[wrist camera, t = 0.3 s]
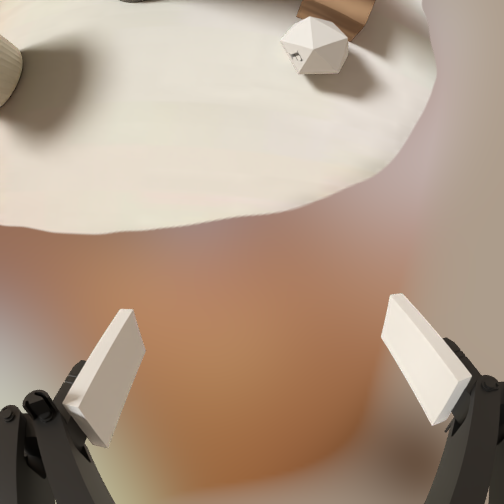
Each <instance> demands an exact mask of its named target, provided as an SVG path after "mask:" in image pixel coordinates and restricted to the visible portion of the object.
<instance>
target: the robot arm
mask: <svg viewBox="0 0 504 504" xmlns="http://www.w3.org/2000/svg"><path fill="white" fill-rule="evenodd" d="M120 1H124V2H139V1H145V0H120ZM381 338H382V340H383V341H384V343H385V344H386V346H387V347H388V349H389V351H390V352H391V354H392V356H393V357H394V359H395V361H396V362H397V364H398V366H399V368H400V369H401V371H402V372H403V374H404V376H405V378H406V379H407V381H408V383H409V385H410V386H411V388H412V390H413V392H414V393H415V395H416V397H417V399H418V401H419V403H420V404H421V406H422V408H423V410H424V412H425V413H426V415H427V417H428V419H429V421H430V423H431V425H432V426H433V425H436V424H438V423H441V422H443V421H445V420H446V419H447V418H448V416H449V414H450V413H451V412H452V413H453V415H454V418H453V420H452V421H451V423H450V424H449V425H448V427H447V428H446V430H445V432H447V431H448V430H449V428H450V430H449V434H448V438H447V442H446V445H445V449H444V452H443V455H442V458H441V462H440V464H439V467H438V471H437V473H436V476H435V479H434V481H433V484H432V487H431V489H430V492H429V494H428V496H427V499H426V501H425V503H424V504H484V503H485V500H486V496H487V492H488V488H489V504H504V382H498V381H497V380H496V379H495V378H494V377H492V376H489V375H483V376H482V375H480V373H479V372H478V370H477V369H476V368H475V367H474V365H473V364H472V363H471V362H470V360H469V359H468V358H467V357H465V354H464V353H463V352H462V351H460V348H459V347H458V346H457V345H456V344H455V343H454V342H453V341H451V340H449V339H448V338H441V336H440V335H439V334H438V333H437V332H436V331H435V329H434V328H433V327H432V326H431V325H430V324H429V322H428V321H427V320H426V319H425V318H424V317H423V316H422V315H421V313H420V312H419V311H418V310H417V309H416V308H415V307H414V306H413V304H412V303H411V302H410V301H409V300H408V299H407V298H406V297H405V296H404V295H403V294H402V293H401V294H393V295H390V298H389V303H388V309H387V313H386V318H385V322H384V327H383V331H382V335H381ZM145 351H146V350H145V347H144V344H143V341H142V338H141V335H140V331H139V328H138V324H137V321H136V318H135V314H134V311H133V309H120V310H119V312H118V313H117V315H116V316H115V318H114V319H113V321H112V322H111V324H110V325H109V327H108V328H107V330H106V331H105V333H104V334H103V336H102V337H101V339H100V341H99V342H98V344H97V345H96V347H95V349H94V350H93V352H92V353H91V355H90V357H89V358H88V360H87V361H84V360H81V361H80V362H79V363H77V364H76V365H75V366H74V367H73V368H72V370H71V371H70V373H69V376H67V378H66V380H65V383H63V385H62V386H61V388H60V390H59V391H58V393H57V395H56V396H55V398H54V400H53V401H52V399H51V398H50V396H49V395H48V393H47V392H45V391H43V390H35V391H32V392H31V393H29V394H28V395H27V396H26V397H25V399H24V401H23V408H24V409H25V410H26V412H27V413H25V414H23V413H21V411H20V410H19V409H18V407H16V406H15V405H8V406H6V407H4V408H3V409H2V410H1V411H0V504H55V500H56V503H57V504H115V502H114V501H113V499H112V497H111V495H110V493H109V492H108V490H107V488H106V486H105V484H104V482H103V481H102V478H101V477H100V474H99V472H98V470H97V468H96V466H95V464H94V461H93V459H92V457H91V455H90V452H89V450H88V448H87V446H86V445H85V440H86V438H88V439H89V441H90V442H91V443H92V444H93V445H96V446H100V447H104V448H108V447H109V444H110V442H111V439H112V436H113V433H114V430H115V428H116V425H117V422H118V419H119V417H120V414H121V411H122V409H123V406H124V403H125V401H126V398H127V396H128V393H129V391H130V388H131V386H132V383H133V381H134V378H135V375H136V373H137V371H138V368H139V366H140V364H141V361H142V359H143V356H144V354H145Z"/></svg>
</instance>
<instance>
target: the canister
mask: <svg viewBox="0 0 504 504" xmlns="http://www.w3.org/2000/svg"><path fill="white" fill-rule="evenodd" d="M22 64H23V61H22V55H21V53H20V51H19V50H18V48H17V47H15V46H14V45H13V44H12V43H10V42H9V41H8V40H7V39H5V38H4V37H3V36H1V35H0V107H1V106H2V105H3V104H4V103H5V102H6V101H7V100H8V99H9V97H10V96H11V94H12V92H13V91H14V90H15V87H16V86H17V83H18V81H19V78H20V76H21V72H22Z"/></svg>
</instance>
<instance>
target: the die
mask: <svg viewBox="0 0 504 504" xmlns="http://www.w3.org/2000/svg"><path fill="white" fill-rule="evenodd" d="M280 42H281V44H282V46H283V47H284V49H285V51H286V53H287V55H288V56H289V58H290V60H291V62H292V64H293V66H294V68H295V70H296V72H297V73H298V74H335V73H339V72H340V70H341V68H342V66H343V64H344V62H345V60H346V58H347V56H348V37H347V36H346V35H345V34H344V33H343V32H342V31H341V30H340V29H339V28H338V27H337V26H336V25H335V24H334V23H333V22H330V21H326V20H323V19H319V18H315V17H311V16H309V17H307V18H305V19H303V20H301V21H299V22H297V23H295V24H294V25H293V26H292V27H291V28H290V29H289V30H288V31H287V32H286V34H285V35H284V36H283V37H282V38H281V39H280Z"/></svg>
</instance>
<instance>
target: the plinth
mask: <svg viewBox="0 0 504 504" xmlns="http://www.w3.org/2000/svg"><path fill="white" fill-rule="evenodd" d="M374 3H375V0H302V3H301V6H300V8H299V11H298V13H297V16H296V17H298V18H301V19H305V18H307V17H309V16H311V17H315V18H319V19H323V20H326V21H330V22H333V23H334V24H335V25H336V26H337V27H338V28H339V29H340V30H341V31H342V32H343V33H344V34H345V35H346V36H347V37H348V41H349V42H351V41H352V39H353V38H354V37H355V36H356V35H357V34H358V33H359V32H360V31H361V29H362V28H363V27H364V26H365V24H366V22H367V19H368V17H369V15H370V12H371V10H372V7H373V5H374Z"/></svg>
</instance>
